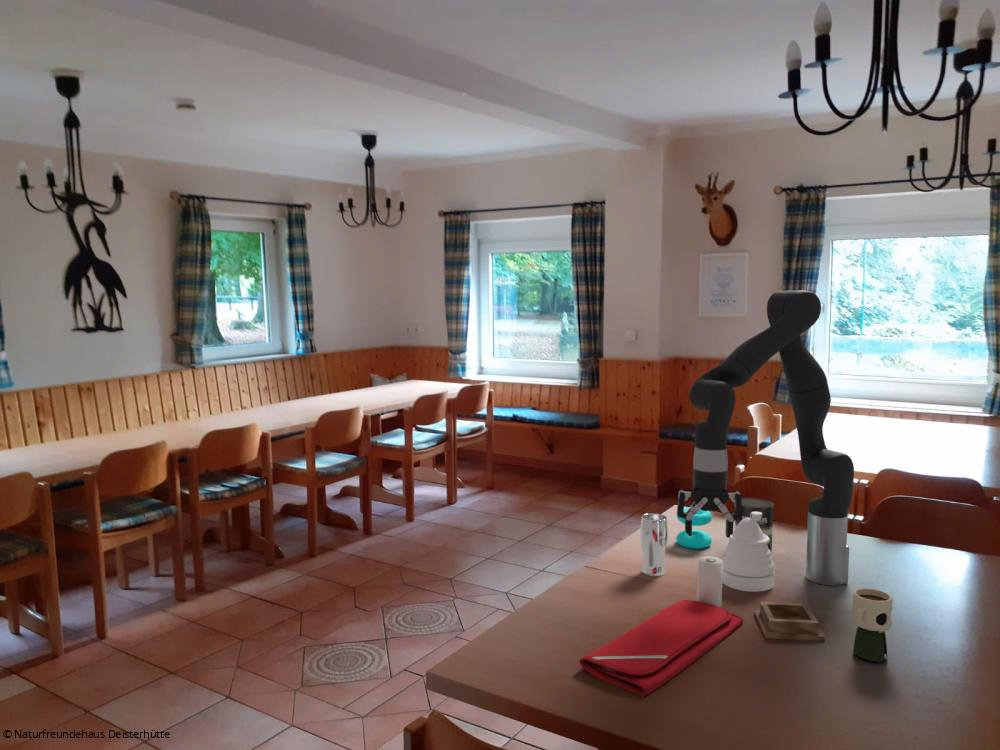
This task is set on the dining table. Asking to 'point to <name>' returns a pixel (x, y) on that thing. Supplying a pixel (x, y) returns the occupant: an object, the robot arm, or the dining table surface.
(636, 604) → the dining table surface
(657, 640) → the red folded cloth
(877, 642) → the character mug
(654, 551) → the beer glass
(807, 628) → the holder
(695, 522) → the donuts
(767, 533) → the coffee can
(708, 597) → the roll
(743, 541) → the honey pot
